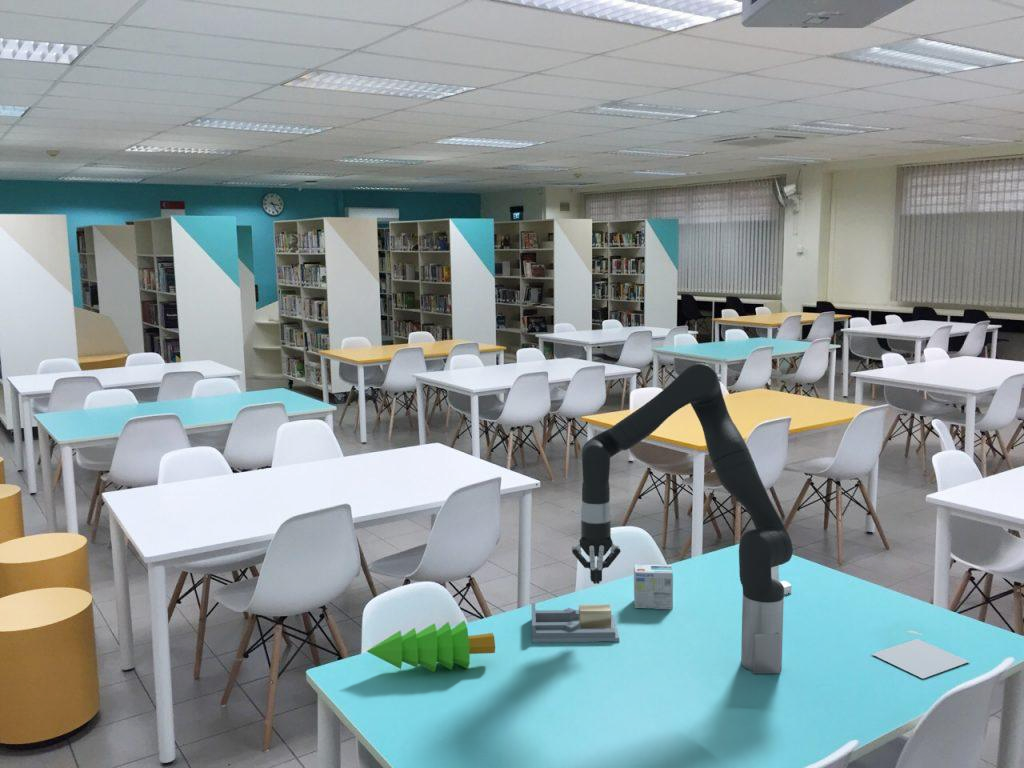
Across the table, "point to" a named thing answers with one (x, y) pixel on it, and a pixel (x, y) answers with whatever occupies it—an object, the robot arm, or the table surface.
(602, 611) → the birch block
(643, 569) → the light bulb box
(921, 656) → the paper stack
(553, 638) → the slot board
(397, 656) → the decorative tree
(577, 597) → the table surface
